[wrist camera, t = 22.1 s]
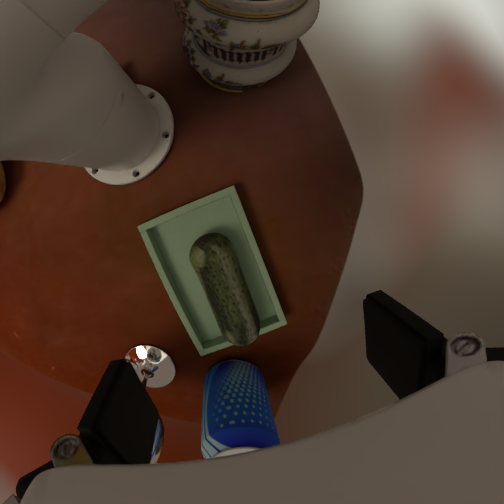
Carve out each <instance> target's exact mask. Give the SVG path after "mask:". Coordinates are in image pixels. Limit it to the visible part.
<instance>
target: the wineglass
mask: <svg viewBox="0 0 504 504" xmlns="http://www.w3.org/2000/svg"><path fill="white" fill-rule="evenodd" d="M125 360H126V361H127V362H130V363H131V364H132V365H133V367H134V369H135V371H136V373H137V375H138V377H139V379H140V381H141V382H142V384H143V386H144V388H146V386H147V387H154V388H158V387H163V386H166V385H168V384H169V383H170V382H172V380H173V379H174V377H175V373H176V368H175V364H174V362H173V360H172V359H171V357H170V356H169V355H168V354H167V353H166V352H165V351H163V350H161V349H160V348H158V347H155V346H152V345H138V346H135V347H133V348H131V349H130V350H129V351H128V352H127V354H126V356H125ZM164 430H165V429H164V426H163V422H162V419H161V417H160V415H159V419H158V424H157V429H156V434H155V440H154V445H153V451H152V456H151V462H150V464H156V462H157V460H158V457H159V455H160V452H161V449H162V446H163V442H164Z"/></svg>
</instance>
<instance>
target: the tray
mask: <svg viewBox="0 0 504 504" xmlns="http://www.w3.org/2000/svg"><path fill="white" fill-rule="evenodd" d="M138 229H139V231H140V233H141V236H142V238H143V241H144V243H145V245H146V247H147V250H148V252H149V254H150V257H151V259H152V261H153V263H154V265H155V268H156V270H157V272H158V274H159V276H160V278H161V280H162V282H163V285H164V287H165V289H166V291H167V293H168V295H169V297H170V299H171V301H172V303H173V305H174V307H175V309H176V311H177V313H178V315H179V317H180V319H181V320H182V322H183V324H184V326H185V328H186V330H187V332H188V334H189V336H190V337H191V339H192V341H193V343H194V345H195V347H196V348H197V350H198V352H199V354H200V356H203V355H206V354H209V353H212V352H215V351H217V350H220V349H223V348H226V347H229V346H231V345H234V344H232V343H230V342H228V341H227V340H226V339H225V338H224V337H223V335H222V334H221V332H220V329H219V327H218V324H217V321H216V319H215V317H214V314H213V312H212V310H211V307H210V305H209V303H208V300H207V297H206V295H205V292H204V290H203V287H202V285H201V282H200V280H199V278H198V276H197V274H196V272H195V270H194V268H193V267H192V265H191V263H190V260H189V253H190V249H191V247H192V245H193V244H194V242H195V241H196V240H197V239H198V238H199V237H201V236H202V235H204V234H207V233H220V234H223V235H225V236H226V237H227V238H228V239H230V240H231V242H232V243H233V245H234V247H235V251H236V254H237V257H238V261H239V264H240V267H241V270H242V272H243V275H244V278H245V280H246V283H247V285H248V288H249V291H250V293H251V296H252V299H253V301H254V304H255V307H256V309H257V312H258V315H259V318H260V332H259V335H261V334H263V333H266V332H269V331H271V330H274V329H276V328H279V327H281V326H284V325H286V324H287V321H286V319H285V316H284V313H283V311H282V308H281V306H280V303H279V300H278V298H277V295H276V293H275V290H274V287H273V285H272V282H271V279H270V277H269V274H268V272H267V269H266V266H265V264H264V261H263V259H262V256H261V254H260V251H259V248H258V246H257V243H256V241H255V238H254V235H253V233H252V230H251V228H250V225H249V223H248V220H247V217H246V215H245V212H244V210H243V207H242V205H241V202H240V199H239V197H238V194H237V192H236V189H235V187H234V185H233V186H231V187H228V188H226V189H223V190H221V191H218V192H216V193H213V194H211V195H208V196H206V197H203V198H201V199H198V200H196V201H194V202H191V203H189V204H186V205H184V206H182V207H179V208H177V209H175V210H173V211H170V212H168V213H166V214H163V215H161V216H159V217H157V218H154V219H152V220H150V221H148V222H146V223H143V224H141V225H139V226H138Z"/></svg>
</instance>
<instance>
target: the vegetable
mask: <svg viewBox="0 0 504 504" xmlns="http://www.w3.org/2000/svg"><path fill="white" fill-rule="evenodd" d="M189 260H190V263H191V265H192V267H193V268H194V270H195V272H196V274H197V276H198V278H199V280H200V282H201V285H202V287H203V290H204V292H205V295H206V297H207V300H208V303H209V305H210V307H211V310H212V312H213V314H214V317H215V319H216V321H217V324H218V327H219V329H220V332H221V334H222V335H223V337H224V338H225V339H226V340H227V341H228V342H230V343H232V344H234V345H238V346H245V345H248V344H250V343H252V342H253V341H254V340H256V338H257V337H258V335H259V332H260V318H259V315H258V312H257V309H256V307H255V304H254V301H253V299H252V296H251V293H250V291H249V288H248V285H247V283H246V280H245V278H244V275H243V272H242V270H241V267H240V264H239V261H238V257H237V254H236V251H235V247H234V245H233V243H232V242H231V240H230V239H228V238H227V237H226V236H225V235H223V234H220V233H207V234H204V235H202V236H201V237H199V238H198V239H197V240H196V241H195V242H194V244H193V245H192V247H191V249H190V253H189Z"/></svg>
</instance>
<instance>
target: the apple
mask: <svg viewBox="0 0 504 504" xmlns="http://www.w3.org/2000/svg"><path fill="white" fill-rule="evenodd" d="M5 189H6V178H5V172H4V168H3V165H2V163H1V161H0V203H1V201H2V199H3V196H4V194H5Z"/></svg>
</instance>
